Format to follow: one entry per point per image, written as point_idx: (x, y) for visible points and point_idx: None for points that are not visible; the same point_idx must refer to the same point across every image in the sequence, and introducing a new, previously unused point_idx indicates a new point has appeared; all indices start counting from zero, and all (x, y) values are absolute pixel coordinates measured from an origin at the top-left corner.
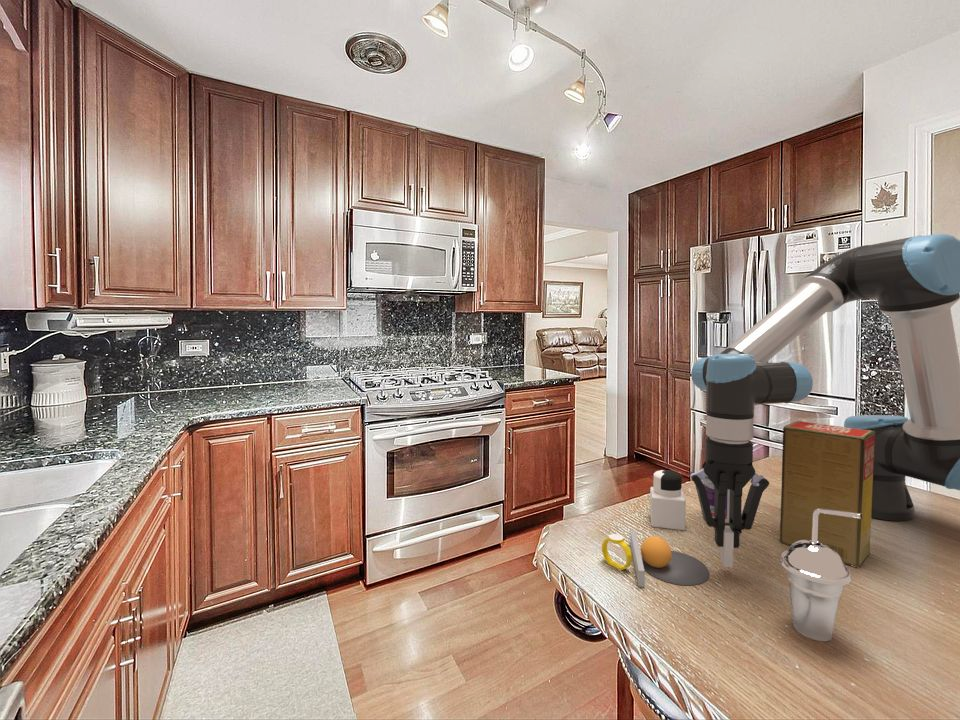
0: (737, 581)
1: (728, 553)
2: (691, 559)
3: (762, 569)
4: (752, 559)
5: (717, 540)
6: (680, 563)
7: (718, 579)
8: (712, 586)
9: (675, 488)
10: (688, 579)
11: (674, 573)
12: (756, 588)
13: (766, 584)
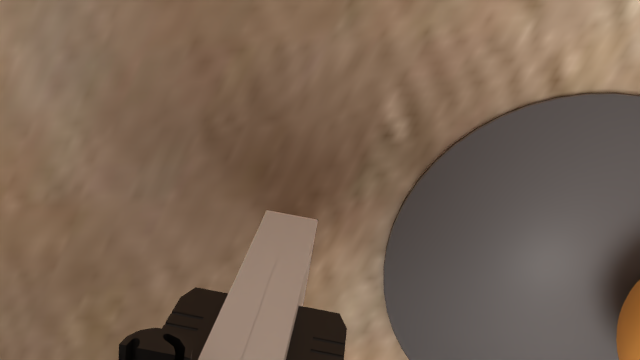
0: (270, 144)
1: (279, 257)
2: (434, 342)
3: (87, 255)
4: (100, 341)
5: (336, 346)
6: (521, 307)
7: (371, 162)
8: (444, 90)
9: None
10: (564, 149)
11: (621, 208)
12: (194, 78)
13: (123, 119)
